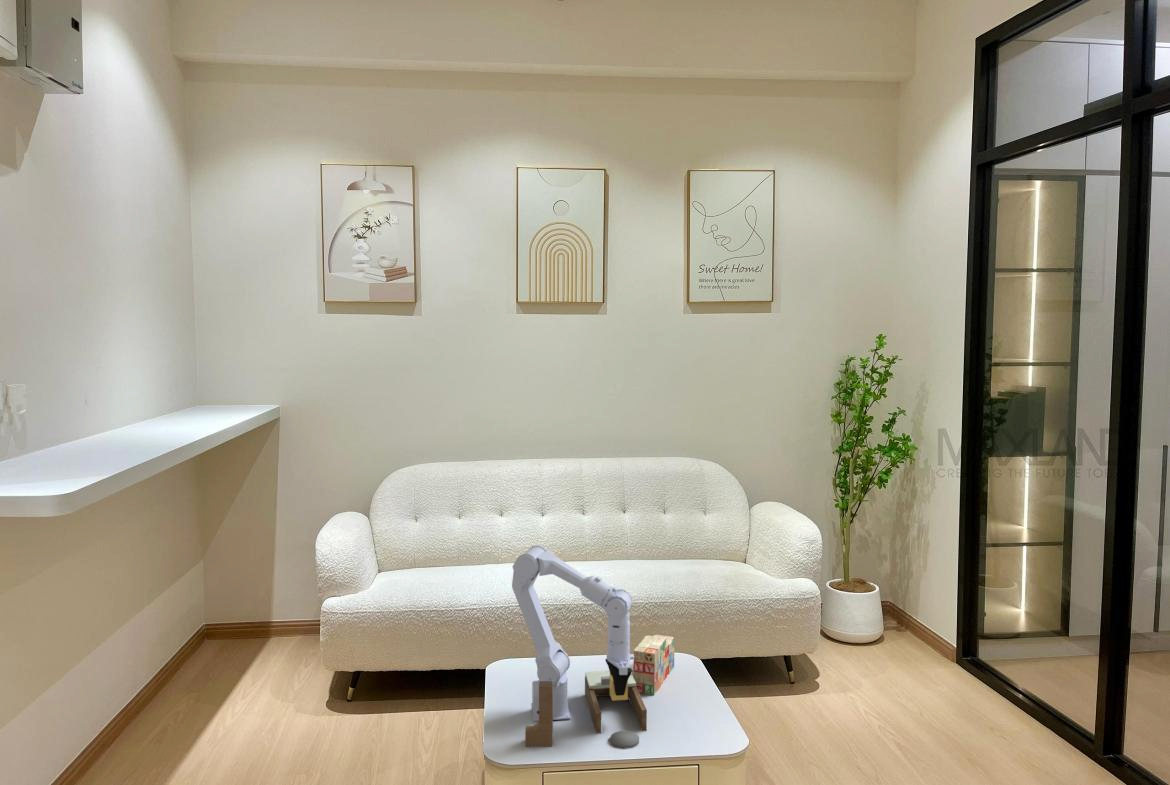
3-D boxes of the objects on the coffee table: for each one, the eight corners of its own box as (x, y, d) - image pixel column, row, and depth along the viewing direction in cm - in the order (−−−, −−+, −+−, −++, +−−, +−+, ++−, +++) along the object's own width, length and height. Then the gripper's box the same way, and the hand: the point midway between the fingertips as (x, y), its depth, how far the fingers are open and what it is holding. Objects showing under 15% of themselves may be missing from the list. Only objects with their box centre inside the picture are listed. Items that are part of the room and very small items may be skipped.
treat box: (596, 733, 201) (596, 713, 200) (584, 694, 223) (584, 676, 222) (646, 730, 202) (646, 710, 202) (630, 692, 224) (630, 673, 224)
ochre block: (612, 700, 204) (612, 681, 204) (609, 693, 208) (609, 674, 208) (627, 699, 204) (627, 680, 204) (624, 692, 208) (624, 674, 208)
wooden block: (552, 739, 198) (552, 680, 197) (552, 746, 194) (552, 686, 193) (526, 740, 198) (525, 680, 196) (525, 746, 194) (525, 686, 193)
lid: (589, 688, 214) (589, 679, 213) (585, 674, 223) (585, 666, 222) (636, 686, 215) (636, 677, 215) (629, 672, 224) (629, 663, 224)
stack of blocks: (654, 663, 244) (655, 624, 244) (674, 667, 242) (675, 627, 241) (632, 692, 224) (633, 649, 224) (654, 696, 222) (654, 652, 221)
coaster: (613, 748, 193) (613, 745, 193) (608, 734, 200) (608, 731, 200) (641, 747, 194) (641, 743, 194) (636, 733, 201) (636, 729, 201)
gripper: (639, 649, 198) (639, 702, 199) (628, 628, 213) (628, 678, 214) (611, 650, 198) (611, 704, 198) (602, 629, 212) (602, 679, 213)
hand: (618, 690), depth 206 cm, fingers closed on ochre block, 4 cm apart
